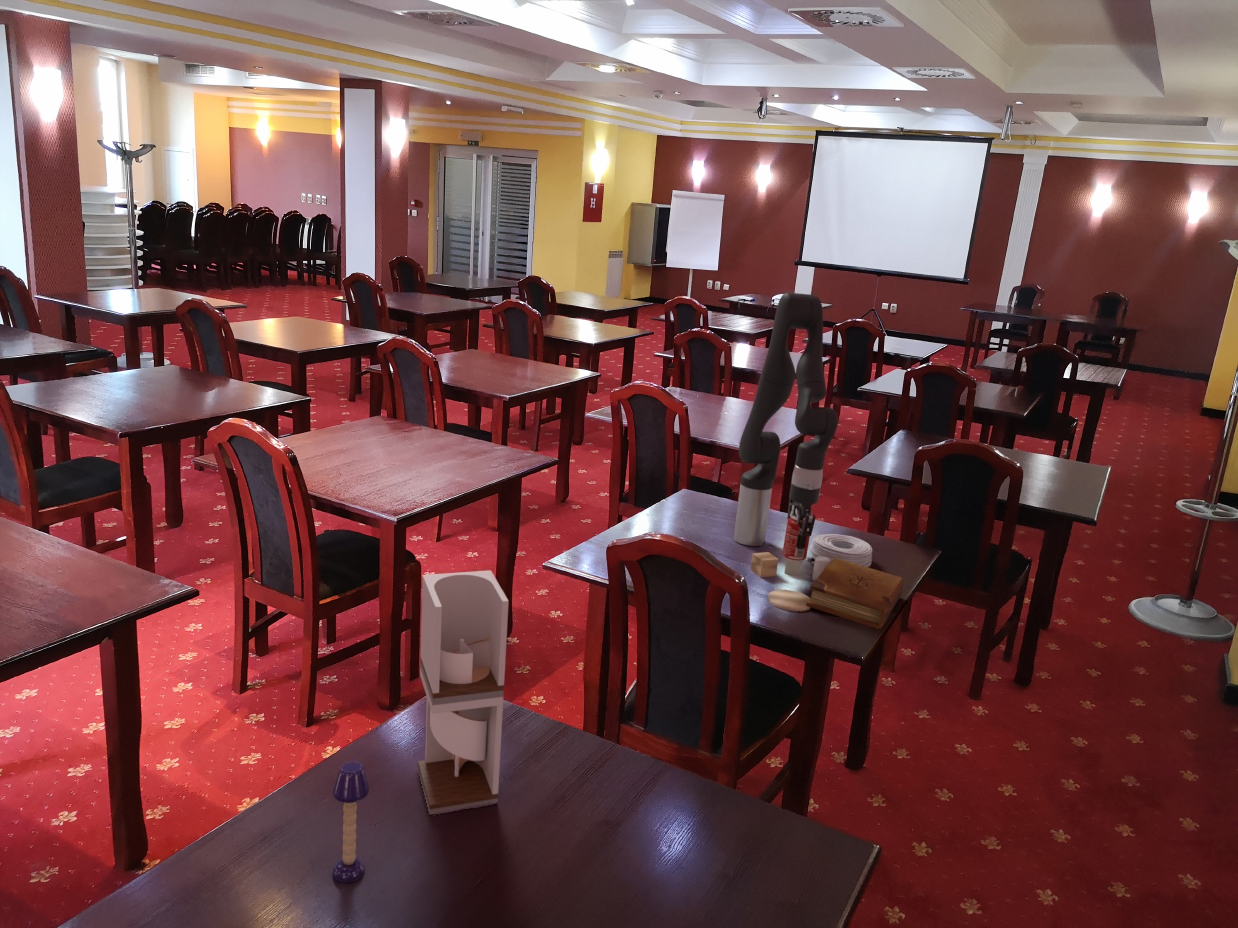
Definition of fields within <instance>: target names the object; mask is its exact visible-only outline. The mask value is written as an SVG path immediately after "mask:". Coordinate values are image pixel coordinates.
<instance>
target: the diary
mask: <svg viewBox="0 0 1238 928" xmlns="http://www.w3.org/2000/svg"><path fill="white" fill-rule="evenodd" d="M904 584H905V579H904V578H903V577H901V576H899V575H895V574H891V573H887V572H885V571H881V570H877V569H874V568H871V567H864V566H861V565H858V564H854V563H851V562H848V561H844V560H841V559H837V558H834V559H833V560H832V561H831V563H830V564H829V565H828V566H827V567H826V568H825V569H824V571H823V572H822V573H821V574H820V575H819V576H818V577H817V579H816V580H815V581H813V582H812V583H811V584H810V586H809V589H810V590H812V591H811V596H810V597H809V598H810V599H809V601H808V602H807V605H806V606H809V607H811V609H815V610H819V611H821V612H825V613H827V614H831V615H833V616H836V617H839V618H843V619H846V620H848V621H852V622H856V623H858V624H861V625H865V626H868V627H871V628H874V629H877V630H880V629H882V627H884V624H885V623H886V622H887V619H888V618H889V616H890V615H891V613H892V612H893V609H894V607H896V604H897V603H898V601H899V599H900V598H901V596H902V593H903V589H904Z"/></svg>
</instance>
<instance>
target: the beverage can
mask: <svg viewBox="0 0 1238 928" xmlns="http://www.w3.org/2000/svg"><path fill="white" fill-rule="evenodd" d="M796 520H797V519H796V516H795V515H791V517H790V518H789V519H787V521H786V527H785V534H784V541H783V546H782V552H781V554H782V556H783V558H784V559H785V561H786V560H787V561H789V562H793V563H801V564H802V562H804V561H805V560H807V557H808V556H807V555H808V550H809V546H810V545H809V544H810V539H811V536H807V539H806V544H805V548H804V549H798V548H797V547H796V544H797V538H798V529H799V526H797V523H796ZM803 522H804V521H801V520H800V523H803ZM805 531H806V529H805Z"/></svg>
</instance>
